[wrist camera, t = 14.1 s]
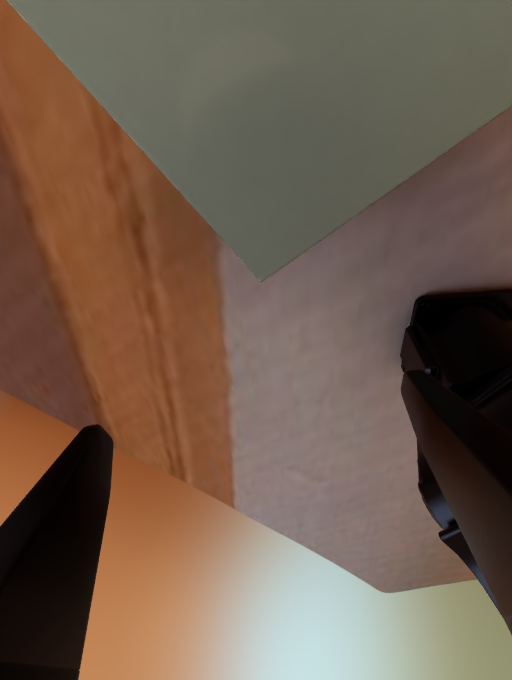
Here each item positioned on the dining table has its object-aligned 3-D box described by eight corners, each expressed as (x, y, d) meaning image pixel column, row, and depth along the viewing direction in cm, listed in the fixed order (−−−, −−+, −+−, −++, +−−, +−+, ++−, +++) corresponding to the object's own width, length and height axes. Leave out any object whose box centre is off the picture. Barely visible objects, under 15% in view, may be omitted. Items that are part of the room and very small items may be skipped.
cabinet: (67, -14, 13) (-49, -61, 9) (313, -448, 8) (360, -1133, 4) (265, 230, 19) (261, 282, 14) (479, 61, 14) (582, 57, 9)
